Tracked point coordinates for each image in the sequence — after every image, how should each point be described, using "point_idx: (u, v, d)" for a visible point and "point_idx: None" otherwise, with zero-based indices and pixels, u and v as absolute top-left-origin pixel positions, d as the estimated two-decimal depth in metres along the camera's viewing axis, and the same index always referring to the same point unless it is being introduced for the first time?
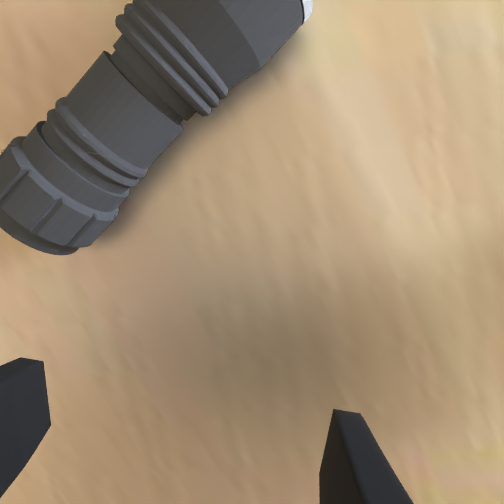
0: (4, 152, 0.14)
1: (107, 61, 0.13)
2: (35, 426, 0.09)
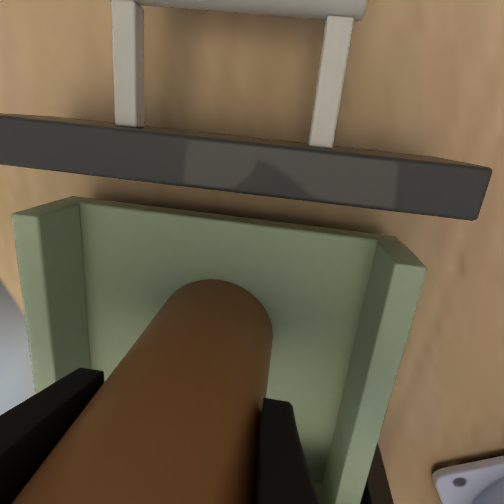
0: None
1: None
2: None
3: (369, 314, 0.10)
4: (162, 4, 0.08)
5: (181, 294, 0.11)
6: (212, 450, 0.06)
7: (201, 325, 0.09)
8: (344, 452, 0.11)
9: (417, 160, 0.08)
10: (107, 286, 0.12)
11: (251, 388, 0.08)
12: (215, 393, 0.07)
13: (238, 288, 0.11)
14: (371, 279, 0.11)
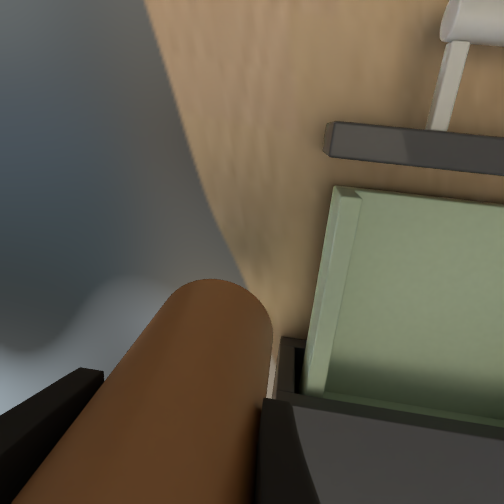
0: None
1: None
2: None
3: None
4: (486, 44, 0.12)
5: (181, 293, 0.11)
6: (211, 449, 0.06)
7: (201, 324, 0.09)
8: None
9: None
10: (360, 256, 0.15)
11: (251, 388, 0.08)
12: (215, 393, 0.07)
13: (239, 288, 0.11)
14: None
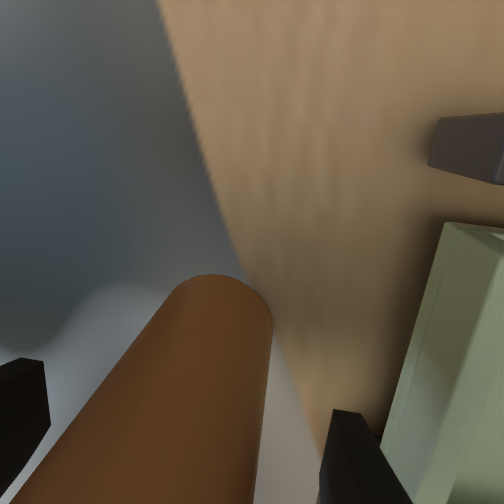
0: None
1: None
2: (35, 426, 0.09)
3: None
4: None
5: (183, 289, 0.11)
6: (215, 433, 0.06)
7: (203, 317, 0.09)
8: None
9: None
10: None
11: (252, 378, 0.08)
12: (217, 381, 0.07)
13: (239, 283, 0.12)
14: None
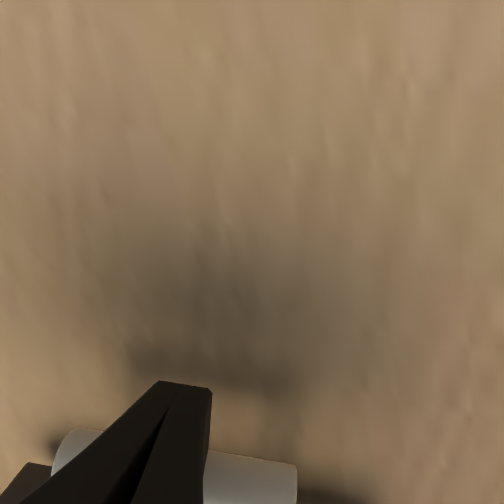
0: None
1: None
2: None
3: None
4: None
5: None
6: None
7: None
8: None
9: None
10: None
11: None
12: None
13: None
14: None
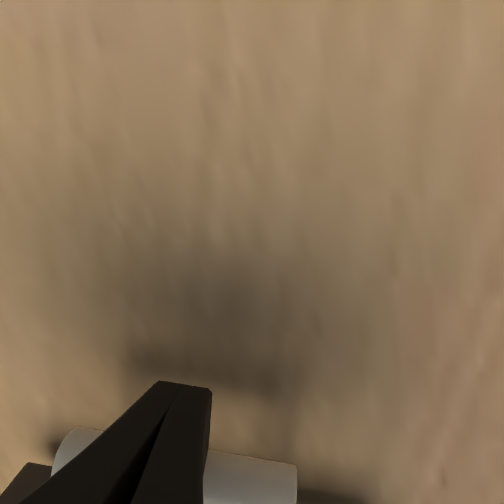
0: None
1: None
2: None
3: None
4: None
5: None
6: None
7: None
8: None
9: None
10: None
11: None
12: None
13: None
14: None
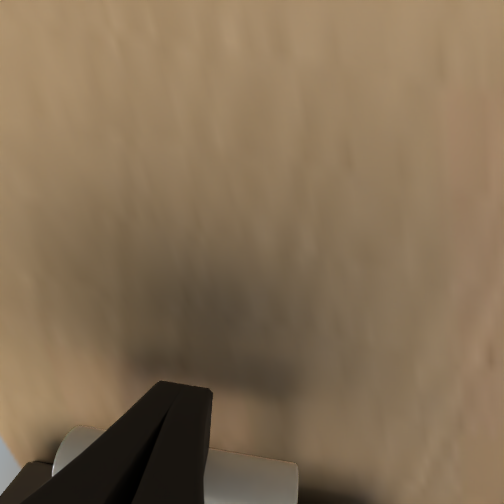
0: None
1: None
2: None
3: None
4: None
5: None
6: None
7: None
8: None
9: None
10: None
11: None
12: None
13: None
14: None
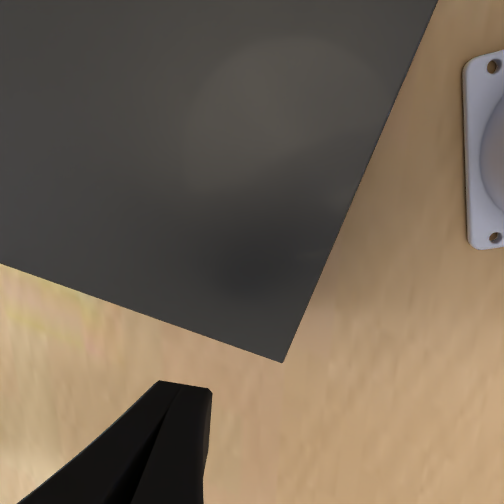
0: None
1: None
2: None
3: None
4: None
5: None
6: None
7: None
8: None
9: None
10: None
11: None
12: None
13: None
14: None
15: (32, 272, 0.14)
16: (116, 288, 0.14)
